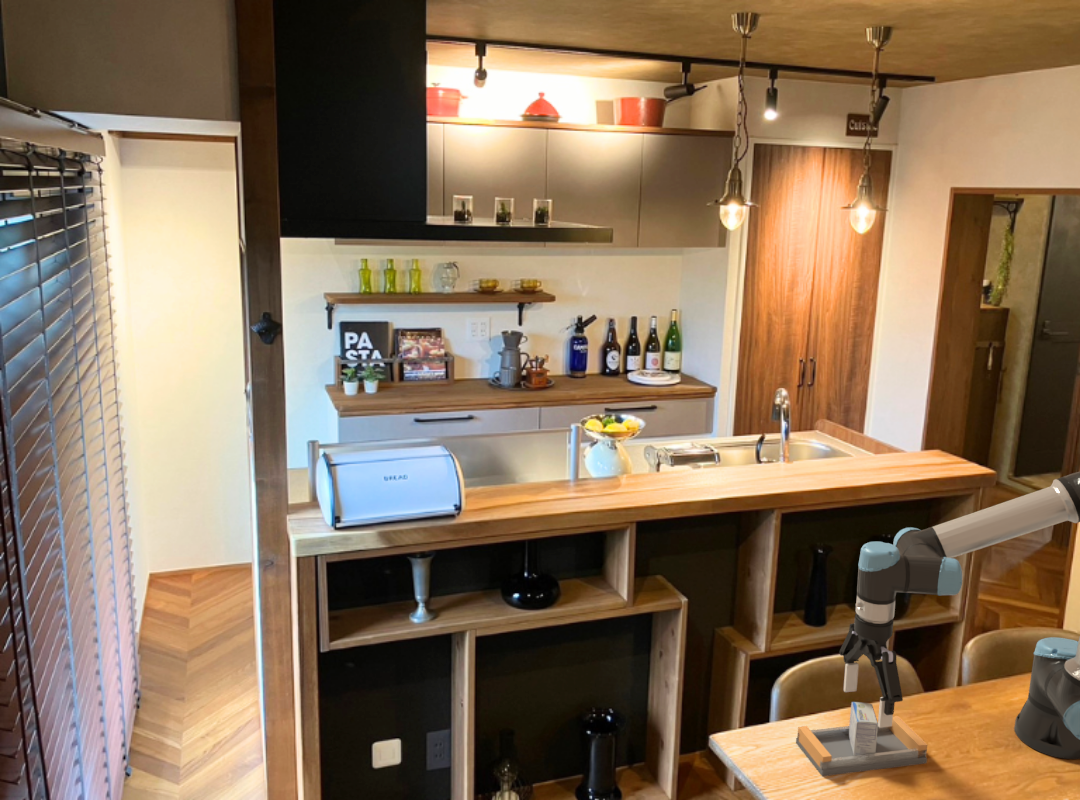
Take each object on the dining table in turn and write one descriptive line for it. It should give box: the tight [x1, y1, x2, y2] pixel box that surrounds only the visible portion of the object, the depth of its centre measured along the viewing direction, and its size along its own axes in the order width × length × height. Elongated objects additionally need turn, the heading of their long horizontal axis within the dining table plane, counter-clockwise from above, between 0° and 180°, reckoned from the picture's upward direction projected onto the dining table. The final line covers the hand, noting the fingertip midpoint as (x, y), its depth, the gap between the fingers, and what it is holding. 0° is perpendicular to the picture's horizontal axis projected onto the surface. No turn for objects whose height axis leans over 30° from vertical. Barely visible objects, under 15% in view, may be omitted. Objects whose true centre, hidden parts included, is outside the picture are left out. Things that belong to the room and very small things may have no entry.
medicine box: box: [848, 701, 878, 756], centre depth 191 cm, size 8×4×9 cm, turn 169°
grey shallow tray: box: [795, 715, 928, 777], centre depth 191 cm, size 24×12×4 cm, turn 101°
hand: (866, 707), depth 189 cm, fingers open, 13 cm apart
